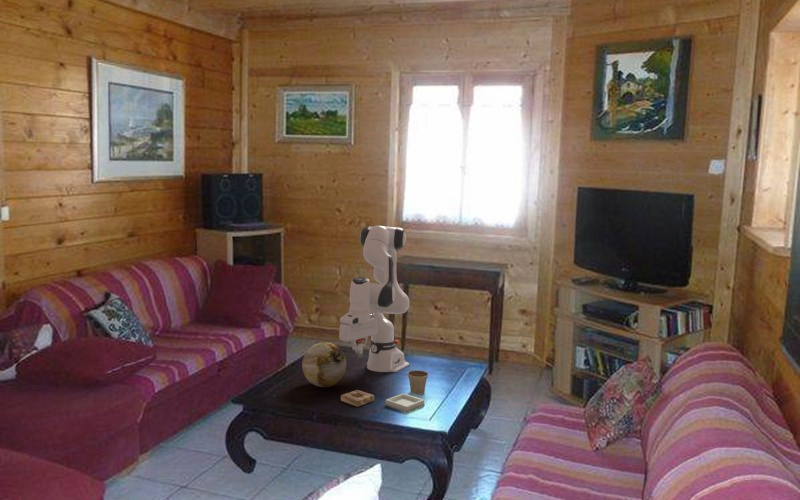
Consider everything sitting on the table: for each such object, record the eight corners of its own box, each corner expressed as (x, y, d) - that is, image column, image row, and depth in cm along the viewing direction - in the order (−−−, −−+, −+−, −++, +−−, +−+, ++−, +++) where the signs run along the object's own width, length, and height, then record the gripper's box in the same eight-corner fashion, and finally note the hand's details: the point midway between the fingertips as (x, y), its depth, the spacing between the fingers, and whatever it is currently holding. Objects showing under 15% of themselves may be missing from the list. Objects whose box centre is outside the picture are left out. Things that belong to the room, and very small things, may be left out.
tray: (403, 398, 293) (403, 393, 293) (424, 405, 285) (424, 399, 285) (385, 405, 284) (385, 399, 284) (406, 412, 277) (406, 406, 276)
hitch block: (357, 395, 296) (357, 389, 295) (374, 400, 289) (374, 395, 289) (340, 400, 288) (340, 395, 288) (357, 406, 282) (357, 401, 281)
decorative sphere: (338, 395, 295) (339, 350, 292) (295, 390, 299) (296, 346, 296) (350, 381, 314) (351, 339, 312) (310, 377, 318) (310, 335, 315)
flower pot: (413, 396, 296) (413, 377, 295) (403, 390, 304) (403, 371, 303) (431, 394, 300) (432, 375, 299) (421, 387, 308) (422, 369, 307)
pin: (358, 354, 289) (358, 337, 288) (365, 356, 287) (366, 339, 286) (351, 356, 286) (352, 339, 285) (358, 358, 283) (359, 341, 282)
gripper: (371, 311, 294) (370, 342, 296) (337, 318, 279) (336, 351, 280) (381, 314, 290) (380, 345, 292) (348, 321, 275) (347, 354, 276)
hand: (358, 348), depth 286 cm, fingers closed on pin, 3 cm apart
